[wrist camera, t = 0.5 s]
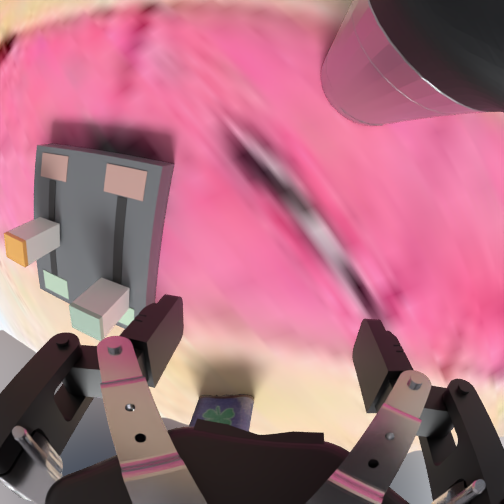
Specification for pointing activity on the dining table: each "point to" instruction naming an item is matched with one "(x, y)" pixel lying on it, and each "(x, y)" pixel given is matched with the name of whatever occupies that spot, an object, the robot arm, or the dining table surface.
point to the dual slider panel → (101, 221)
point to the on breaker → (99, 308)
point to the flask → (225, 410)
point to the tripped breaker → (32, 240)
